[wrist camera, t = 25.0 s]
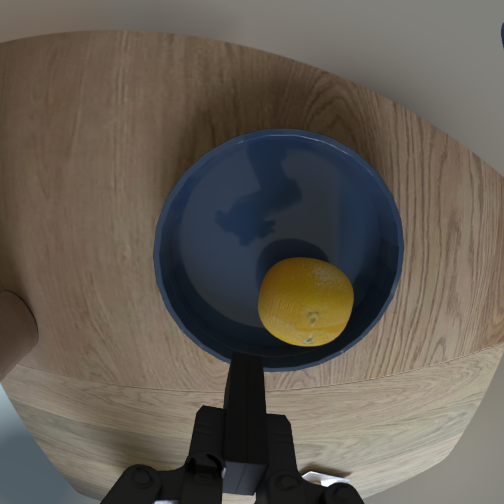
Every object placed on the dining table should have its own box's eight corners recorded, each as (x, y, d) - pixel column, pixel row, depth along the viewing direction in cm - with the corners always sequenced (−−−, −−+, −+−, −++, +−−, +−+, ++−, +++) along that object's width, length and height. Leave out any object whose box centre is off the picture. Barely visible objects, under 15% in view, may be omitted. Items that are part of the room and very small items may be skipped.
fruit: (258, 322, 31) (262, 367, 23) (253, 251, 29) (256, 279, 21) (337, 314, 31) (361, 354, 23) (339, 244, 29) (369, 269, 21)
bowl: (188, 118, 26) (176, 108, 21) (402, 169, 28) (426, 170, 23) (159, 327, 32) (147, 350, 27) (347, 355, 34) (359, 379, 29)
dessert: (310, 499, 45) (313, 515, 40) (268, 490, 43) (269, 508, 38) (350, 475, 43) (355, 493, 38) (309, 466, 41) (313, 486, 36)
